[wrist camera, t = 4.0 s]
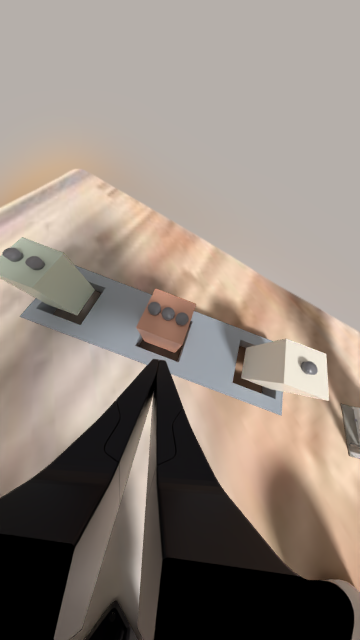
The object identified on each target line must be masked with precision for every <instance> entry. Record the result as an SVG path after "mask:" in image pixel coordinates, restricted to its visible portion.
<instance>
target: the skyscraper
mask: <svg viewBox="0 0 360 640" xmlns="http://www.w3.org/2000/svg"><path fill="white" fill-rule="evenodd" d="M341 407H342V414H343V420H344V427H345V433H346V440H347V446H348V453H349V456H351V457H355V458H358V459H360V408H358V407H352V406H348V405H344V404H341Z"/></svg>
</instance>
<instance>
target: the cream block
mask: <svg viewBox="0 0 360 640" xmlns="http://www.w3.org/2000/svg"><path fill="white" fill-rule="evenodd" d="M241 378H242V379H245V380H248V381H250V382H253V383H256V384H258V385H261V386H264V387H266V388H269V389H272V390H277V391H282V392H287V393H292V394H297V395H302V396H307V397H312V398H317V399H322V400H327V401H329V391H328V374H327V358H326V354H325V353H323V352H320V351H317V350H315V349H312V348H310V347H307V346H304V345H302V344H299V343H297V342H294V341H291V340H289V339H282V340H277V341H273V342H269V343H264V344H260V345H256V346H251V347H247V348H246V351H245V357H244V363H243V369H242V375H241Z"/></svg>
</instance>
